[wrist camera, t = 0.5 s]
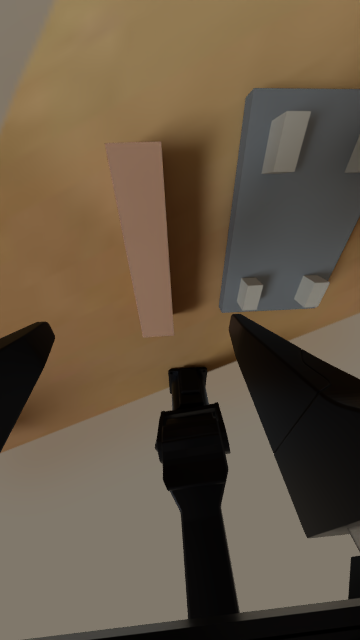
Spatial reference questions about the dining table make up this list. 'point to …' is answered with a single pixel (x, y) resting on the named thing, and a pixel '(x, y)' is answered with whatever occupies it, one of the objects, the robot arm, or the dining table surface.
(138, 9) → the dining table surface
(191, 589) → the robot arm
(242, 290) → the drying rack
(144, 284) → the clay strip
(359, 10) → the dining table surface
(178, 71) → the dining table surface
